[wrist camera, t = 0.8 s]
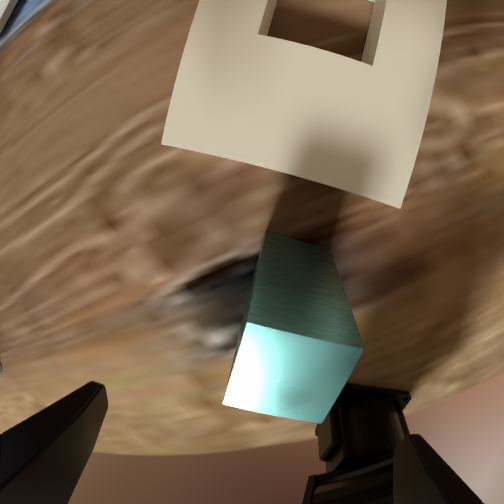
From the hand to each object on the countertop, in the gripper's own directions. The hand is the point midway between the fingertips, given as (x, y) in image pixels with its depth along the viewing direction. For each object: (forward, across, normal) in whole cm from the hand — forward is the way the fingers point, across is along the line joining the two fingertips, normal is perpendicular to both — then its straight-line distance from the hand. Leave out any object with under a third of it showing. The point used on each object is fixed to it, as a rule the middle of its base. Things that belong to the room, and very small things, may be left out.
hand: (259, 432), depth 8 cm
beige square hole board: (+13, 0, -14) cm, 19 cm away
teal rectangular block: (+13, -1, +1) cm, 13 cm away
